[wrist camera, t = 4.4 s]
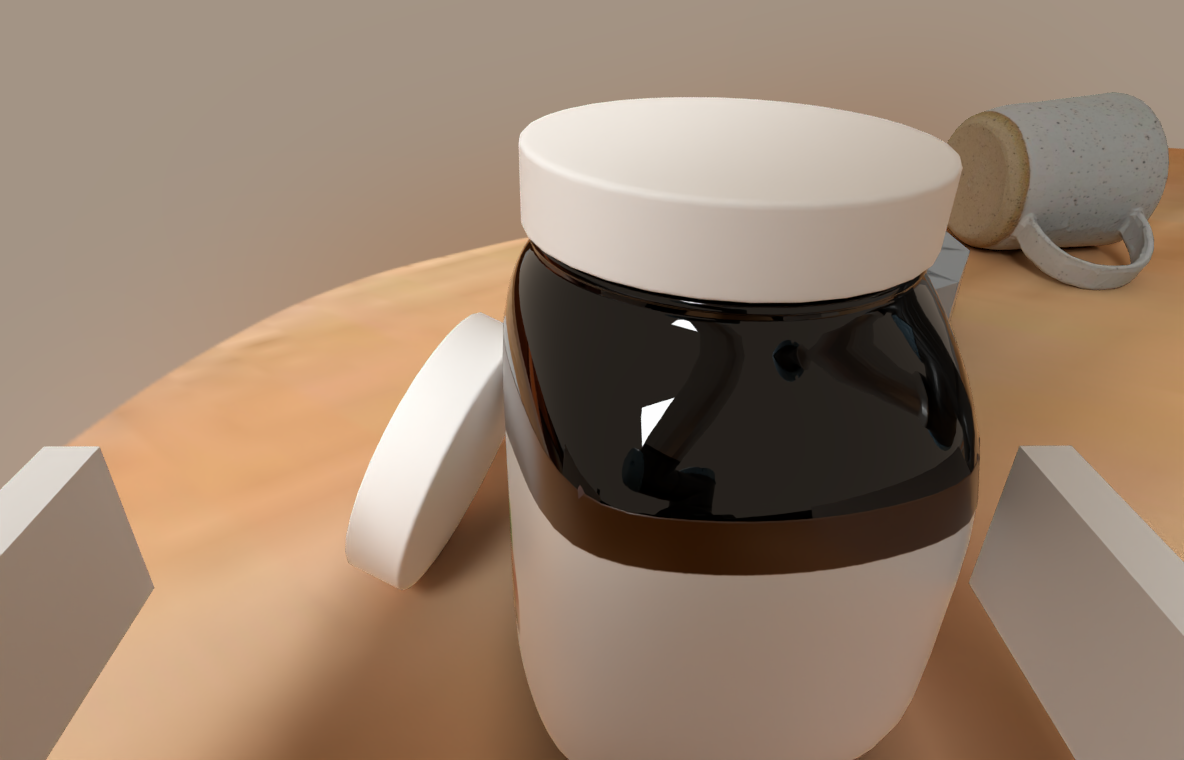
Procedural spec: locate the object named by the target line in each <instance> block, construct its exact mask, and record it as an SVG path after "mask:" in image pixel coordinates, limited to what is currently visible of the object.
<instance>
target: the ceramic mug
mask: <svg viewBox="0 0 1184 760" xmlns="http://www.w3.org/2000/svg"><path fill="white" fill-rule="evenodd" d="M947 144H948V145H949V146H950V147H951V148H953V149H954V150H955V151H956V152H957V153H958V154H959V156H960V159H961V163H962V167H963V169H962V172H961V176H960V180H959V184H958V188H957V191H956V195H955V199H954V203H953V207H952V210H951V214H950V218H949V222H948V225H947V226H948V228H949V229H950V230H951V232H952V233H953V234H954V235H955V236H956V237H957V238H958V239H960V240H961V241H962V242H964V243H966V244H968V245H970V246H973V247H979V248H986V249H994V250H1012V249H1022V251H1023V253H1024V254H1025V256H1026V257H1027V258H1028V259H1029V260H1031V261H1032V262H1033V263H1034V264H1035V265H1036V266H1037V267H1038V268H1039V269H1040V270H1041V271H1042V272H1044V273H1046V274H1047V275H1049V276H1050V277H1052V278H1055V279H1056V280H1058V281H1060V282H1062V283H1065V284H1068V285H1073V286H1076V287H1079V288H1082V289H1091V290H1106V289H1115V288H1118V287H1122V286H1123V285H1125V284H1127V283H1129V282H1130V281H1132V280H1133V279H1134V278H1135V277H1136V276H1137V275H1138V273H1139V272H1140V271H1141V270H1142V269H1143V268H1144V267H1145V266H1146V265H1147V264H1148V263H1149V261H1150V259H1151V256H1152V253H1153V250H1154V238H1153V233H1152V230H1151V227H1150V224H1149V223H1148V221H1147V220H1148V219H1149V217H1150V216H1151V215H1152V213H1153V211H1154V210H1155V208H1156V206H1157V205H1158V203H1159V201H1160V199H1161V196H1162V194H1163V191H1164V188H1165V184H1166V180H1167V177H1168V165H1169V156H1168V146H1167V140H1166V136H1165V134H1164V131H1163V128H1162V125H1161V123H1160V121H1159V119H1158V118H1157V117H1156V115H1155V114H1154V112H1153V111H1152V110H1151V108H1150V107H1149V106H1148V105H1146V104H1145V103H1144V102H1143V101H1142V100H1140V99H1138V98H1136V97H1134V96H1130V95H1128V94H1122V93H1114V92H1112V93H1105V94H1098V95H1090V96H1081V97H1073V98H1066V99H1057V100H1050V101H1042V102H1033V103H1021V104H1012V105H1006V106H1001V107H998V108H994V109H991V110H987V111H984V112H982V113H979V114H976V115H974V116H972V117H970V118H968V119H967V120H965V121H964V122H963V123H962V124H961V125H960V126H959V127H958V128H957V129H956V130H955V132H954V133H953V135H952V136H951V138H950V139H949V140H948V143H947ZM1121 240H1123V241H1124V243H1125V245H1126V247H1127V249H1128V252H1129V255H1130V261H1131V264H1130V265H1121V266H1108V265H1099V264H1094V263H1091V262H1088V261H1084V260H1081V259H1078V258H1076V257H1073V256H1071V255H1069V254H1068V253H1066V252H1065V251H1063V250H1062V249H1060V248H1059V247H1078V246H1098V245H1106V244H1112V243H1116V242H1119V241H1121Z"/></svg>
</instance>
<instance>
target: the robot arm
mask: <svg viewBox="0 0 1184 760" xmlns="http://www.w3.org/2000/svg"><path fill="white" fill-rule="evenodd" d="M969 584H970V586H971V588H972V589H973V591H974V593H975V594H976V596H977V598H978V599H979V601H980V603H981V604H982V606H983V608H984V609H985V611H986V613H987V614H988V616H989V618H990V619H991V621H992V622H993V624H994V626H995V627H996V629H997V631H998V632H999V634H1000V636H1001V637H1002V639H1003V641H1004V642H1005V644H1006V646H1007V647H1008V649H1009V651H1010V652H1011V654H1012V656H1013V657H1014V659H1015V661H1016V662H1017V664H1018V665H1019V667H1020V669H1021V670H1022V672H1023V674H1024V675H1025V677H1026V679H1027V680H1028V682H1029V684H1030V685H1031V687H1032V689H1033V690H1034V692H1035V694H1036V695H1037V697H1038V699H1039V700H1040V702H1041V704H1042V705H1043V707H1044V708H1045V710H1046V712H1047V713H1048V715H1049V717H1050V718H1051V720H1052V722H1053V723H1054V725H1055V727H1056V728H1057V730H1058V732H1059V733H1060V735H1061V737H1062V738H1063V740H1064V742H1065V743H1066V745H1067V746H1068V748H1069V750H1070V751H1071V753H1072V755H1073V756H1074V758H1075V760H1184V562H1183V561H1182V560H1181V559H1180V558H1179V557H1178V556H1177V555H1176V554H1175V553H1174V552H1173V551H1172V550H1171V549H1170V547H1169V546H1168V545H1167V544H1166V543H1165V542H1164V541H1163V540H1162V539H1161V538H1160V537H1159V536H1158V535H1157V534H1156V533H1155V532H1154V531H1153V530H1152V529H1151V528H1150V527H1149V526H1148V525H1147V524H1146V523H1145V522H1144V520H1143V519H1142V518H1141V517H1140V516H1139V515H1138V514H1137V513H1136V512H1135V511H1134V510H1133V509H1132V508H1131V507H1130V506H1129V505H1128V504H1127V503H1126V502H1125V501H1124V500H1123V499H1122V498H1121V497H1120V496H1119V495H1118V493H1117V492H1116V491H1115V490H1114V489H1113V488H1112V487H1111V486H1110V485H1109V484H1108V483H1107V482H1106V481H1105V480H1104V479H1103V478H1102V477H1101V476H1100V475H1099V474H1098V473H1097V472H1096V471H1095V470H1094V469H1093V468H1092V466H1091V465H1090V464H1089V463H1088V462H1087V461H1086V460H1085V459H1084V458H1083V457H1082V456H1081V455H1080V454H1079V453H1078V452H1077V451H1076V450H1075V449H1074V448H1073V447H1072V446H1019V449H1018V452H1017V454H1016V457H1015V460H1014V462H1013V465H1012V468H1011V470H1010V473H1009V476H1008V478H1007V481H1006V484H1005V487H1004V489H1003V492H1002V495H1001V497H1000V500H999V503H998V505H997V508H996V511H995V513H994V516H993V519H992V521H991V524H990V527H989V530H988V532H987V535H986V538H985V540H984V543H983V546H982V548H981V551H980V554H979V556H978V559H977V562H976V564H975V567H974V570H973V573H972V575H971V578H970V581H969ZM153 589H154V586H153V583H152V581H151V578H150V575H149V573H148V570H147V568H146V565H145V562H144V560H143V557H142V555H141V552H140V550H139V547H138V544H137V542H136V539H135V537H134V534H133V532H132V529H131V526H130V524H129V521H128V519H127V516H126V513H125V511H124V508H123V506H122V503H121V501H120V498H119V495H118V493H117V490H116V488H115V485H114V483H113V480H112V477H111V475H110V472H109V470H108V467H107V464H106V462H105V459H104V457H103V454H102V452H101V449H100V447H43V448H42V449H41V450H40V451H39V452H38V453H37V454H36V455H35V456H34V457H33V458H32V459H31V460H30V461H29V462H28V463H27V464H26V465H25V466H24V467H23V468H22V469H21V470H20V471H19V472H18V473H17V474H16V475H15V476H14V477H13V478H12V479H11V480H10V481H9V482H7V483H6V484H5V485H4V486H3V487H2V488H1V489H0V760H46V759H47V757H48V756H49V754H50V752H51V751H52V749H53V748H54V746H55V744H56V743H57V741H58V740H59V738H60V736H61V735H62V733H63V732H64V730H65V729H66V727H67V725H68V724H69V722H70V721H71V719H72V717H73V716H74V714H75V713H76V711H77V710H78V708H79V706H80V705H81V703H82V702H83V700H84V698H85V697H86V695H87V694H88V692H89V691H90V689H91V687H92V686H93V684H94V683H95V681H96V679H97V678H98V676H99V675H100V673H101V672H102V670H103V668H104V667H105V665H106V664H107V662H108V660H109V659H110V657H111V656H112V654H113V653H114V651H115V649H116V648H117V646H118V645H119V643H120V641H121V640H122V638H123V637H124V635H125V634H126V632H127V630H128V629H129V627H130V626H131V624H132V622H133V621H134V619H135V618H136V616H137V615H138V613H139V611H140V610H141V608H142V607H143V605H144V603H145V602H146V600H147V599H148V597H149V595H150V594H151V592H152V591H153Z"/></svg>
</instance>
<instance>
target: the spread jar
mask: <svg viewBox="0 0 1184 760" xmlns="http://www.w3.org/2000/svg"><path fill="white" fill-rule="evenodd" d="M519 169H520V170H519V171H520V201H521V202H520V203H521V224H522V226H523V227H524V230H525V231H526V234H527V236H528V237H529V240H528V241H527V243H526V244H525V246H524V248H523V250H522V251H521V253H520V255H519V257H518V259H517V261H516V264H515V267H514V270H513V273H512V276H511V279H510V283H509V287H508V293H507V300H506V306H505V312H504V323H502V322H500V321H498V320H496V319H494V318H492V317H490V316H487V315H485V314H483V313H481V312H480V313H476V314H472V315H470V316H469V317H467V318H466V319H464V320H463V321H461V322H460V323H459V324H458V325H457V326H456V327H455V328H454V329H453V330H452V331H451V332H450V333H449V334H448V335H447V336H446V337H445V338H444V340H443V341H442V342H441V343H440V344H439V346H438V347H437V348H436V349H435V351H434V352H433V353H432V354H431V356H430V357H429V359H428V360H427V361H426V363H425V364H424V366H423V367H422V369H421V370H420V371H419V373H418V374H417V376H416V377H415V379H414V381H413V382H412V384H411V385H410V387H409V389H408V390H407V392H406V394H405V395H404V397H403V399H402V400H401V402H400V403H399V405H398V407H397V409H396V411H395V413H394V415H393V416H392V418H391V420H390V422H389V424H388V426H387V428H386V429H385V431H384V433H383V435H382V438H381V440H380V442H379V444H378V446H377V448H376V450H375V452H374V455H373V457H372V459H371V461H370V463H369V466H368V468H367V471H366V473H365V476H364V478H363V481H362V483H361V486H360V488H359V491H358V494H357V497H356V500H355V503H354V506H353V510H352V513H351V516H350V521H349V525H348V530H347V534H346V548H345V553H346V557H347V560H348V563H350V564H351V565H353V566H354V567H356V568H358V569H360V570H362V571H364V572H366V573H368V574H370V575H372V576H374V577H376V578H378V579H380V580H382V581H384V582H386V583H388V584H390V585H392V586H394V587H396V588H398V589H400V590H404V589H407V588H410V587H411V586H412V585H414V584H415V583H416V582H417V581H418V580H419V579H420V578H421V577H422V576H423V575H424V573H425V572H426V571H427V570H428V569H429V567H430V566H431V565H432V563H433V562H434V561H435V559H436V558H437V557H438V555H439V554H440V552H441V551H442V549H443V548H444V546H445V545H446V543H447V542H448V541H449V539H450V537H451V536H452V534H453V532H454V531H455V529H456V528H457V526H458V524H459V523H460V521H461V519H462V518H463V516H464V514H465V512H466V511H467V509H468V507H469V505H470V504H471V502H472V500H473V498H474V496H475V495H476V493H477V491H478V489H479V487H480V485H481V483H482V482H483V480H484V478H485V476H486V474H487V472H488V470H489V468H490V466H491V464H492V462H493V460H494V458H495V455H496V453H497V451H498V449H499V447H500V445H501V443H502V441H503V438H504V436H505V434H506V453H507V470H508V488H509V509H510V532H511V555H512V576H513V592H514V606H515V615H516V623H517V632H518V641H519V647H520V652H521V658H522V662H523V666H524V670H525V674H526V678H527V682H528V685H529V688H530V691H531V694H532V697H533V700H534V703H535V705H536V708H537V711H538V713H539V716H540V718H541V720H542V722H543V724H544V726H545V728H546V730H547V732H548V734H549V736H550V737H551V739H552V740H553V742H554V743H555V745H556V746H557V748H558V749H559V750H560V751H561V753H562V754H563V755H564V756H565V757H566V758H567V759H568V760H854V759H856V758H858V757H860V756H861V755H863V754H864V753H866V752H868V751H869V750H871V749H872V748H873V747H874V746H875V745H877V744H878V743H879V742H880V741H881V740H882V739H883V738H884V737H885V736H886V735H887V734H888V733H889V732H890V731H891V730H892V729H893V728H894V727H895V726H896V725H897V724H898V723H899V722H900V720H901V718H902V716H903V715H904V713H905V711H906V709H907V708H908V706H909V704H910V702H911V701H912V699H913V696H914V694H915V692H916V689H917V687H918V685H919V682H920V680H921V677H922V675H923V672H924V670H925V667H926V665H927V662H928V660H929V657H930V655H931V652H932V649H933V647H934V644H935V641H936V638H937V635H938V633H939V630H940V627H941V624H942V621H943V618H944V616H945V613H946V610H947V608H948V605H949V602H950V599H951V597H952V594H953V591H954V588H955V586H956V583H957V580H958V577H959V574H960V570H961V567H962V564H963V561H964V558H965V555H966V551H967V548H968V545H969V542H970V537H971V532H972V527H973V522H974V517H975V512H976V508H977V503H978V486H979V460H980V437H979V432H978V426H977V420H976V415H975V409H974V403H973V397H972V392H971V387H970V382H969V378H968V375H967V372H966V369H965V366H964V363H963V360H962V356H961V353H960V350H959V347H958V344H957V341H956V338H955V335H954V332H953V329H952V326H951V324H950V322H949V319H948V317H947V315H946V313H945V310H944V308H943V306H942V303H941V301H940V299H939V296H938V294H937V292H936V290H935V288H934V286H933V284H932V282H931V280H930V278H929V276H928V274H927V270H928V268H930V267H931V266H932V265H933V264H934V262H935V260H936V258H937V257H938V255H939V253H940V251H941V248H942V244H943V241H944V237H945V233H946V229H947V225H948V222H949V218H950V214H951V210H952V207H953V203H954V199H955V195H956V191H957V188H958V184H959V180H960V176H961V172H962V169H963V167H962V163H961V159H960V156H959V154H958V153H957V152H956V151H955V150H954V149H953V148H951V147H950V146H949V145H948V144H947V143H945V142H943V141H942V140H940V139H938V138H936V137H934V136H932V135H931V134H928V133H925V132H923V131H920V130H917V129H915V128H912V127H909V126H907V125H904V124H900V123H897V122H893V121H889V120H886V119H882V118H879V117H874V116H869V115H865V114H860V113H855V112H850V111H845V110H839V109H833V108H827V107H821V106H814V105H806V104H797V103H789V102H780V101H766V100H755V99H739V98H716V97H715V98H714V97H713V98H712V97H669V98H644V99H631V100H618V101H610V102H603V103H595V104H588V105H584V106H579V107H574V108H569V109H565V110H561V111H558V112H555V113H552V114H549V115H546V116H544V117H542V118H540V119H538V120H536V121H534V122H532V123H530V124H529V125H528V126H527V127H526V128H525V129H524V130H523V131H522V133H521V134H520V139H519Z"/></svg>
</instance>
